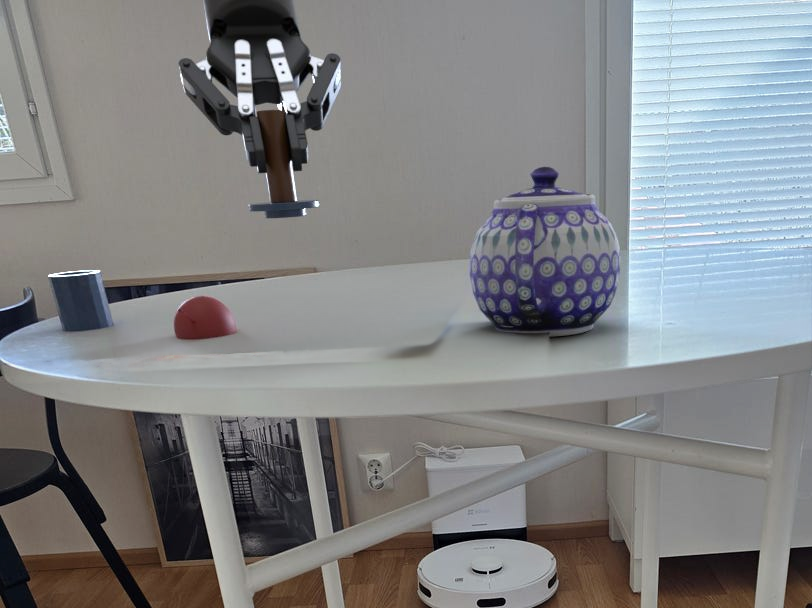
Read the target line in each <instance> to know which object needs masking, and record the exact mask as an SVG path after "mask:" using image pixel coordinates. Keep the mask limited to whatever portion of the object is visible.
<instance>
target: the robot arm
mask: <svg viewBox="0 0 812 608" xmlns="http://www.w3.org/2000/svg"><path fill="white" fill-rule="evenodd" d="M202 4H203V10H204V16H205V22H206V28H207V33H208V40H209V46H208V47H207V49H206V52H205V59H202V60H200V61H198V62H195V61H193V60H192V59H191V58H188V57H183V58H181V59H180V60H179V61H178V67H179V74H180V78H181V79H180V80H181V83H182V86H183V87H182V88H183V91H184V94H185V95H186V96H187V98H188V99H189V100H190V101H191V102H192V103H193V104H194V105H195V106H196V108H197V109H198V110H199V111H200V112H201V113H202V114H203V115H204V117H206V119H207V120H208V121H209V122H210V123H211V124H212V125H213V127H214V128H215V129H216V130H217V131H218V132H219V133H220V134H221V135H223V136H230V135H232V134H233V133H236V134H239V135H240V136H241V137H242V139H243V145H244V151H245V156H246V161H247V163H248V165H249V166H250V167H251V168H252V167H253V168H254V167H256V168H257V169H256V170H257V174H266V173H267V168H266V159H265V152H264V146H263V141H262V136H261V130H260V125H259V119H258V116H257V106H259V105H263V104H273V105H277V108H278V110H284V111H285V119H286V127H287V134H288V141H289V148H290V155H291V162H292V168H293V172H302V171H303V165H306V164H308V162H309V158H310V157H309V144H308V139H307V133H306V131H307V130H311V131H313V132H314V131H315V132H318V131H321V130H323V128H324V125H325V123H326V122H327V119H328V117H329V114H330V112H331V110H332V108H333V105H334V104H335V101H336V99H337V96H338V94H339V92H340V89H341V88H342V78H341V77H342V76H341V75H342V73H341V72H342V71H341V67H342V66H341V56H340V55H338V54H337V53H333V52H332V53H331V52H330V53H328V54H327V55H326V56H325V58H324V59H323V58H321V57H317V56H314V55H312V52H311V50H310V48H309V47H308V45H307V44H306V43H305V42H304V41H303V39H302V36H301V31H300V26H299V21H298V17H297V12H296V8H295V2H294V0H202ZM309 75H311V76H312V82H313V84H312V86H311V88H310V89H309V90H310V91H309V92H308V94H307V96H306V100H305V101H303V102H300V100H299V96H298V94H297V92H298V91H299V90H300V88H301V87H302V86H303V84H304V82H305V81H306V80H307V78H308V77H309ZM213 79H214V80H215V81H216V82H218V83H219V84H220V85H221V86H222V87H223V88H225V89H226V90H227V91H228V92H230V93H231V94H232V96H234V97H235V98H237V105H235V104H231V103H230V101H229V100H228V98H226V96H225V95H224V94H223V93H222V92H221V91H220V89H219V88H217V86H216V85H215V84H214V83H213Z"/></svg>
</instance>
